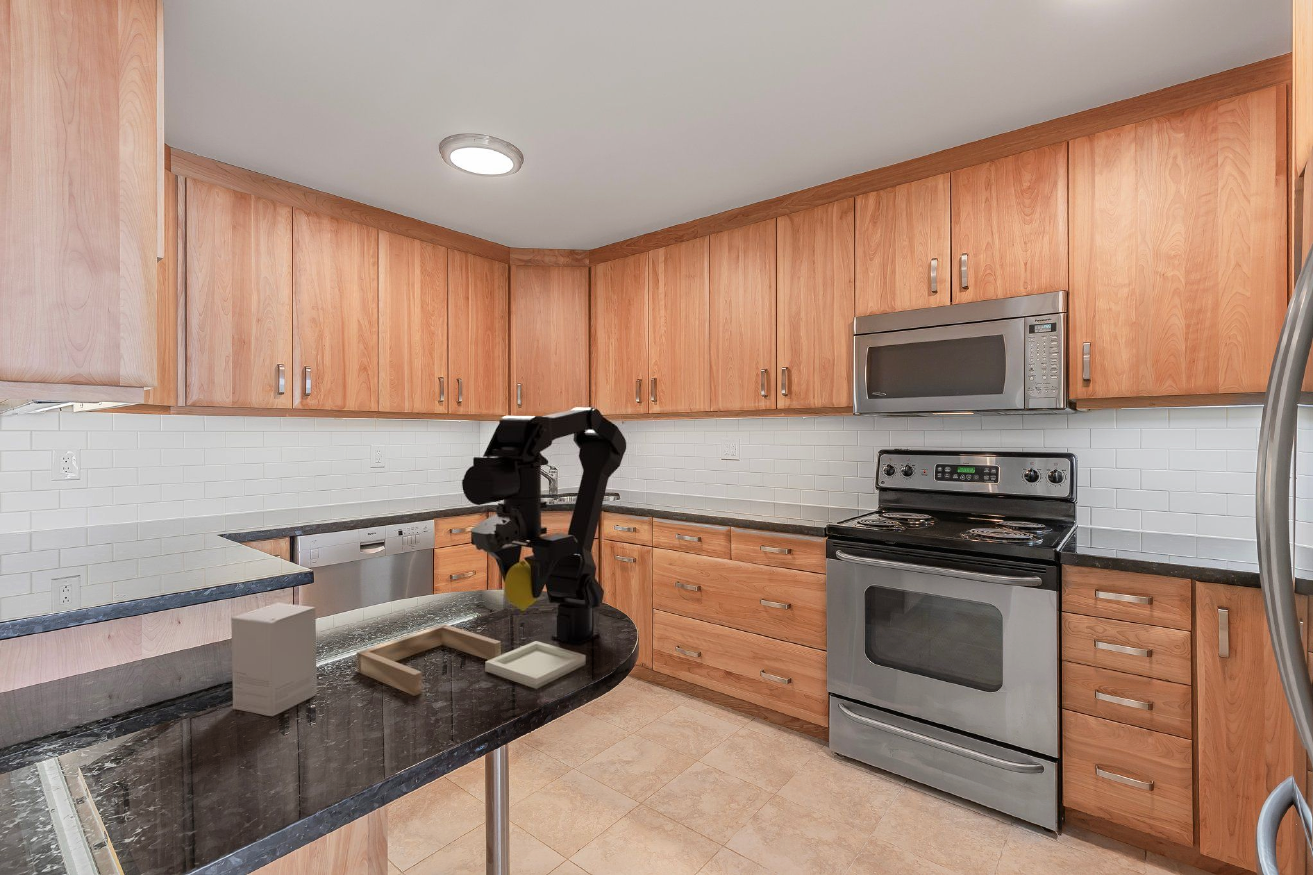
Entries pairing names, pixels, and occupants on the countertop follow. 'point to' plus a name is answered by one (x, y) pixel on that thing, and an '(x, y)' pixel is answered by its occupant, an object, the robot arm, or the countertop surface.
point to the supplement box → (274, 658)
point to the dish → (535, 664)
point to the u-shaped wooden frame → (407, 679)
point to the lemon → (519, 585)
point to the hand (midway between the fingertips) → (523, 594)
